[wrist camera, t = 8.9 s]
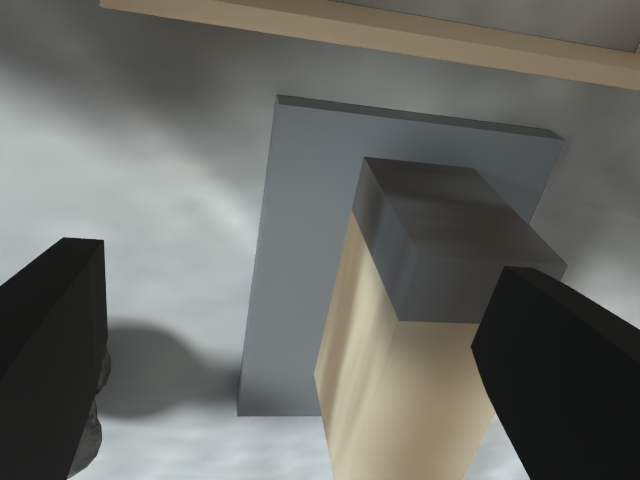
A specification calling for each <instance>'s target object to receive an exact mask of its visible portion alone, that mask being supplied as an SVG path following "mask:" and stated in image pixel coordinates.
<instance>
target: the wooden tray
mask: <svg viewBox="0 0 640 480" xmlns="http://www.w3.org/2000/svg"><path fill="white" fill-rule="evenodd" d="M100 7H102V8H109V9H115V10H122V11H128V12H135V13H141V14H148V15H154V16H160V17H167V18H173V19H180V20H186V21H193V22H199V23H206V24H212V25H219V26H225V27H232V28H238V29H245V30H251V31H258V32H264V33H270V34H277V35H283V36H290V37H296V38H303V39H309V40H316V41H322V42H329V43H335V44H342V45H348V46H355V47H361V48H368V49H374V50H381V51H387V52H393V53H400V54H406V55H413V56H419V57H426V58H432V59H439V60H445V61H452V62H458V63H465V64H471V65H478V66H484V67H491V68H497V69H503V70H510V71H516V72H523V73H529V74H536V75H542V76H549V77H555V78H562V79H568V80H575V81H581V82H588V83H594V84H601V85H607V86H614V87H620V88H626V89H633V90H639V91H640V43H639V45H638V48H637V50H636V52H635V53H631V52H625V51H619V50H613V49H608V48H602V47H596V46H590V45H584V44H579V43H573V42H567V41H561V40H555V39H550V38H544V37H538V36H532V35H526V34H521V33H515V32H509V31H503V30H497V29H492V28H486V27H480V26H474V25H468V24H463V23H457V22H451V21H445V20H439V19H434V18H428V17H422V16H416V15H410V14H405V13H399V12H393V11H387V10H381V9H376V8H370V7H364V6H358V5H352V4H347V3H341V2H335V1H329V0H100Z"/></svg>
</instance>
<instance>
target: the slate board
mask: <svg viewBox="0 0 640 480" xmlns="http://www.w3.org/2000/svg"><path fill="white" fill-rule="evenodd" d="M563 143H564V139H562V138H561V137H559V136H558V135H556V134H555V133H553V132H552V131H550V130H545V129H538V128H530V127H522V126H515V125H507V124H499V123H491V122H484V121H476V120H468V119H460V118H453V117H445V116H437V115H430V114H422V113H414V112H406V111H399V110H391V109H383V108H376V107H368V106H360V105H352V104H345V103H337V102H329V101H321V100H314V99H306V98H298V97H291V96H283V95H277V96H276V104H275V112H274V119H273V127H272V135H271V142H270V150H269V158H268V165H267V173H266V180H265V188H264V196H263V203H262V211H261V219H260V226H259V234H258V242H257V249H256V257H255V264H254V272H253V280H252V287H251V295H250V303H249V310H248V318H247V326H246V333H245V341H244V349H243V356H242V364H241V371H240V379H239V387H238V394H237V416H322V414H321V409H320V403H319V398H318V393H317V388H316V382H315V377H314V372H315V368H316V363H317V359H318V354H319V350H320V346H321V341H322V337H323V333H324V328H325V324H326V319H327V315H328V311H329V306H330V302H331V297H332V293H333V289H334V284H335V280H336V276H337V271H338V267H339V262H340V258H341V254H342V249H343V245H344V240H345V236H346V232H347V227H348V223H349V218H350V214H351V210H352V205H353V201H354V197H355V192H356V188H357V183H358V179H359V175H360V170H361V166H362V161H363V157H373V158H382V159H392V160H401V161H410V162H420V163H429V164H438V165H448V166H457V167H466V168H474V169H475V170H476V171H477V172H478V173H479V175H480V176H481V177H482V178H483V179H484V180H485V181H486V182H487V183H488V184H489V185H490V186H491V187H492V188H493V189H494V190H495V191H496V192H497V193H498V194H499V195H500V196H501V197H502V198H503V199H504V200H505V201H506V202H507V203H508V204H509V205H510V206H511V207H512V209H513V210H514V211H515V212H516V213H517V214H518V215H519V216H520V217H521V218H522V219H523V220H524V221H525V222H526V223H527V224H528V225H529V222H530V220H531V218H532V215H533V213H534V211H535V208H536V206H537V204H538V201H539V199H540V196H541V194H542V192H543V189H544V187H545V185H546V182H547V180H548V178H549V175H550V173H551V171H552V168H553V166H554V164H555V161H556V159H557V157H558V154H559V152H560V150H561V147H562V145H563Z"/></svg>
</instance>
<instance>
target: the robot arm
mask: <svg viewBox="0 0 640 480" xmlns="http://www.w3.org/2000/svg"><path fill="white" fill-rule="evenodd" d="M107 338H108V330H107V305H106V281H105V256H104V240H97V239H81V238H65V237H63V238H62V239H60V240H59V241H58V242H56V243H55V244H54V245H52V246H51V247H50V248H49V249H47V250H46V251H45V252H43V253H42V254H41V255H40V256H38V257H37V258H36V259H34V260H33V261H32V262H31V263H29V264H28V265H27V266H26V267H24V268H23V269H22V270H20V271H19V272H18V273H17V274H15V275H14V276H13V277H11V278H10V279H9V280H8V281H6V282H5V283H4V284H2V285H1V286H0V480H67V477H68V474H69V471H70V468H71V465H72V463H73V460H74V457H75V454H76V451H77V448H78V445H79V442H80V439H81V436H82V433H83V430H84V427H85V424H86V421H87V418H88V415H89V412H90V410H91V407H92V404H93V400H94V397H95V394H96V391H97V387H98V382H99V377H100V373H101V368H102V363H103V358H104V353H105V348H106V343H107ZM471 349H472V353H473V356H474V359H475V362H476V365H477V368H478V371H479V374H480V377H481V380H482V382H483V385H484V388H485V390H486V393H487V395H488V397H489V399H490V401H491V404H492V406H493V408H494V410H495V412H496V414H497V416H498V418H499V420H500V421H501V423H502V425H503V427H504V429H505V431H506V433H507V435H508V437H509V439H510V441H511V443H512V445H513V447H514V449H515V451H516V453H517V455H518V457H519V458H520V460H521V462H522V464H523V466H524V468H525V470H526V472H527V474H528V476H529V478H530V480H640V330H639V329H638V328H636V327H634V326H633V325H631V324H629V323H628V322H626V321H624V320H623V319H621V318H620V317H618V316H616V315H615V314H613V313H611V312H610V311H608V310H607V309H605V308H603V307H602V306H600V305H598V304H597V303H595V302H594V301H592V300H590V299H589V298H587V297H585V296H584V295H582V294H580V293H579V292H577V291H575V290H574V289H572V288H570V287H569V286H567V285H565V284H563V283H562V282H560V281H558V280H556V279H555V278H553V277H551V276H549V275H547V274H545V273H543V272H541V271H539V270H537V269H535V268H531V267H516V266H504V268H503V270H502V272H501V275H500V277H499V280H498V282H497V284H496V287H495V289H494V291H493V294H492V296H491V299H490V301H489V303H488V306H487V308H486V311H485V313H484V315H483V318H482V320H481V323H480V325H479V327H478V330H477V332H476V334H475V337H474V339H473V342H472V344H471Z"/></svg>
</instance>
